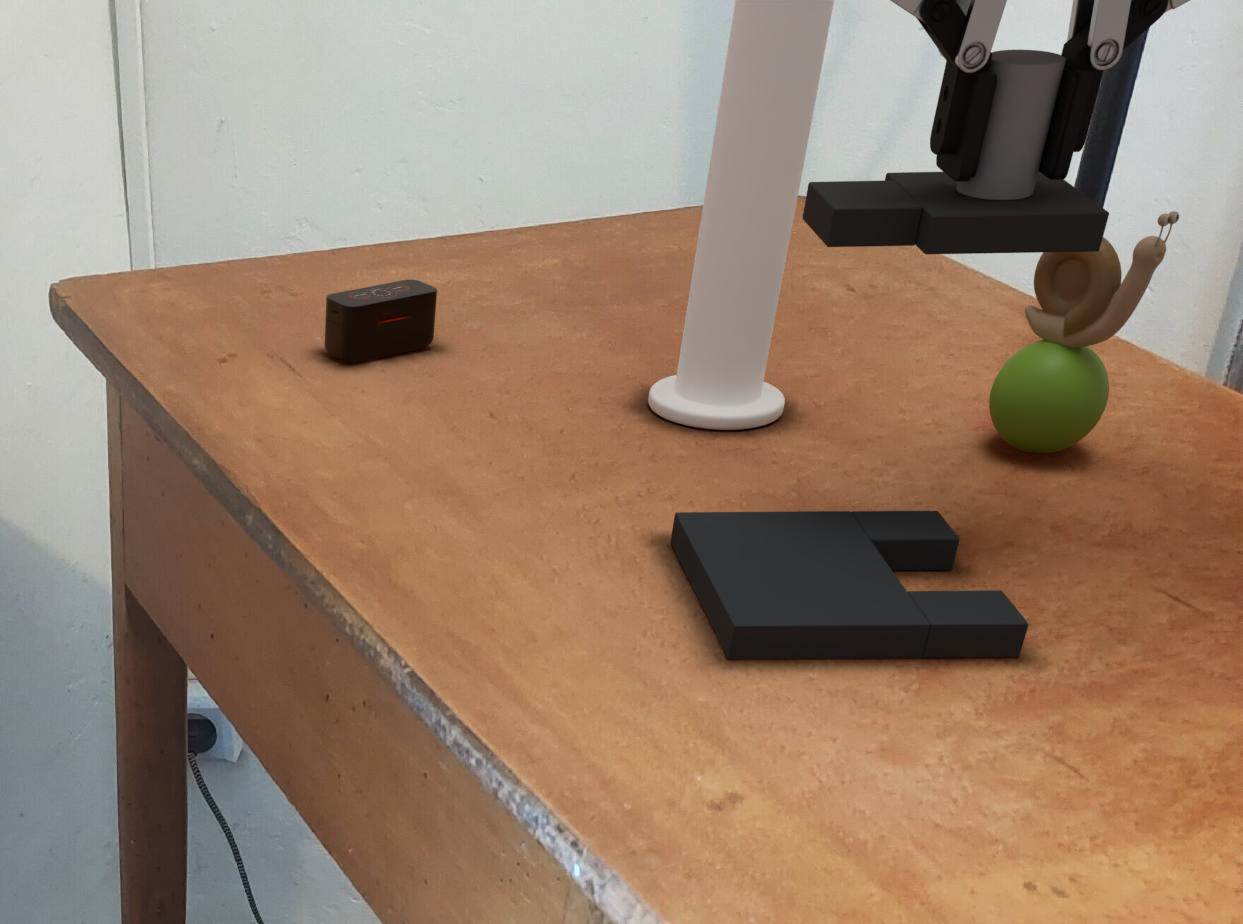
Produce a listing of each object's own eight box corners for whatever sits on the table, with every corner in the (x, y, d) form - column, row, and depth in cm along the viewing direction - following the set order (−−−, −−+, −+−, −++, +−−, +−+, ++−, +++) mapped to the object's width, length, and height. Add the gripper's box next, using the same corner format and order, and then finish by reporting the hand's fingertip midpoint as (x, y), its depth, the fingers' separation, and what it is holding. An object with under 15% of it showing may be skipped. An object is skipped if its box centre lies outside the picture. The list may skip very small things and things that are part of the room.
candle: (721, 440, 97) (822, -131, 82) (620, 404, 102) (696, -145, 86) (810, 411, 101) (923, -145, 85) (708, 377, 105) (797, -157, 89)
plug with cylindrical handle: (1041, 206, 82) (1084, 37, 78) (1099, 252, 76) (1148, 72, 72) (794, 211, 82) (824, 43, 78) (834, 256, 77) (868, 79, 73)
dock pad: (930, 541, 87) (938, 509, 86) (1019, 657, 78) (1029, 623, 77) (669, 543, 87) (675, 511, 86) (727, 659, 78) (734, 625, 77)
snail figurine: (1062, 484, 92) (1139, 223, 85) (954, 445, 96) (1018, 193, 89) (1130, 460, 95) (1211, 204, 87) (1022, 423, 99) (1090, 176, 91)
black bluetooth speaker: (448, 346, 110) (453, 288, 108) (346, 367, 107) (349, 308, 105) (402, 325, 113) (406, 268, 111) (302, 345, 110) (304, 287, 108)
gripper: (927, -384, 64) (820, 200, 75) (1423, -399, 63) (1239, 192, 74) (868, -388, 69) (778, 154, 81) (1322, -402, 69) (1166, 147, 80)
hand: (1000, 167), depth 78 cm, fingers closed on plug with cylindrical handle, 3 cm apart
